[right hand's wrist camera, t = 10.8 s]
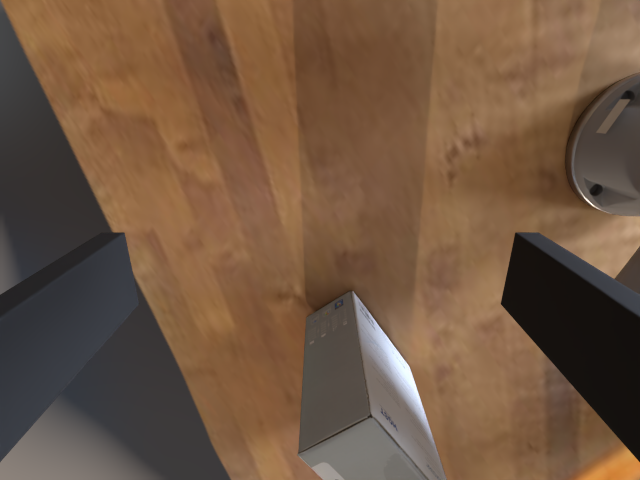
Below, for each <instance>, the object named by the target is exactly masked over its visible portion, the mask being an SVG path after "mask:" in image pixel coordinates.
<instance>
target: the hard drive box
mask: <svg viewBox="0 0 640 480" xmlns="http://www.w3.org/2000/svg"><path fill="white" fill-rule="evenodd" d="M297 455H298V456H299V457H300V458H301V459H302V460H303V461H304V462H305V463H306V464H307V465H308V466H309V467H310V468H311V469H312V470H313V471H314V472H315V473H316V474H317V475H318V476H319V477H320V478H321V479H322V480H447V479H446V475H445V472H444V469H443V466H442V463H441V460H440V457H439V454H438V451H437V448H436V445H435V442H434V439H433V436H432V433H431V430H430V427H429V424H428V421H427V418H426V415H425V412H424V409H423V406H422V403H421V400H420V397H419V394H418V391H417V388H416V385H415V382H414V378H413V376H412V373H411V370H410V367H409V366H408V364H407V363H406V362H405V360H404V359H403V358H402V356H401V355H400V353H399V352H398V351H397V349H396V348H395V347H394V345H393V344H392V343H391V341H390V340H389V339H388V337H387V336H386V335H385V333H384V332H383V331H382V329H381V328H380V327H379V325H378V324H377V322H376V321H375V320H374V318H373V317H372V316H371V314H370V313H369V311H368V310H367V309H366V307H365V306H364V305H363V304H362V302H361V301H360V299H359V298H358V297H357V295H356V294H355V293H354V291H352V292H350V291H349V292H347V293H346V294H344V295H342V296H341V297H339V298H337V299H336V300H334V301H332V302H331V303H329V304H327V305H326V306H324V307H323V308H321V309H319V310H318V311H316V312H314V313H313V314H311V315H309V316H308V317H307V318H306V331H305V347H304V366H303V384H302V401H301V419H300V435H299V452H298V454H297Z"/></svg>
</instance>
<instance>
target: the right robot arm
mask: <svg viewBox="0 0 640 480" xmlns="http://www.w3.org/2000/svg"><path fill="white" fill-rule="evenodd" d="M565 165H566V174H567V178H568V181H569V183H570V186H571V187H572V189H573V191H574V192H575V194H576V195H577V196H578V197H579V198H580V199H581V200H582V201H583V202H585V203H586V204H588V205H589V206H592V207H594V208H596V209H599V210H601V211H604V212H607V213H610V214H615V215H622V216H640V73H637V74H633V75H631V76H628V77H626V78H624V79H622V80H620V81H618V82H616V83H615V84H613V85H611V86H610V87H609V88H607V89H606V90H605V91H603V92H602V93H601V94H600V95H599V96H597V97H596V98H595V99H594V100H593V101H592V102H591V104H590V105H589V106H588V107H587V108H586V109H585V111H584V112H583V113H582V115H581V116H580V118H579V119H578V121H577V123H576V125H575V127H574V129H573V131H572V133H571V136H570V139H569V142H568V146H567V150H566V160H565ZM138 305H139V301H138V296H137V291H136V286H135V281H134V276H133V272H132V267H131V262H130V257H129V252H128V247H127V243H126V238H125V233H100V234H99V235H97V236H95V237H94V238H92V239H90V240H89V241H87V242H86V243H84V244H82V245H81V246H79V247H77V248H76V249H74V250H72V251H71V252H69V253H68V254H66V255H64V256H63V257H61V258H59V259H58V260H56V261H55V262H53V263H51V264H50V265H48V266H46V267H45V268H43V269H42V270H40V271H38V272H37V273H35V274H33V275H32V276H30V277H29V278H27V279H25V280H24V281H22V282H20V283H19V284H17V285H16V286H14V287H12V288H11V289H9V290H7V291H6V292H4V293H3V294H1V295H0V462H1V461H2V459H3V458H4V457H5V456H6V455H7V454H8V453H9V451H10V450H11V449H12V448H13V447H14V446H15V445H16V443H17V442H18V441H19V440H20V439H21V438H22V437H23V435H24V434H25V433H26V432H27V431H28V430H29V429H30V428H31V426H32V425H33V424H34V423H35V422H36V421H37V420H38V418H39V417H40V416H41V415H42V414H43V413H44V412H45V410H46V409H47V408H48V407H49V406H50V405H51V404H52V403H53V401H54V400H55V399H56V398H57V397H58V396H59V395H60V393H61V392H62V391H63V390H64V389H65V388H66V387H67V385H68V384H69V383H70V382H71V381H72V380H73V379H74V378H75V376H76V375H77V374H78V373H79V372H80V371H81V370H82V368H83V367H84V366H85V365H86V364H87V363H88V362H89V360H90V359H91V358H92V357H93V356H94V355H95V354H96V353H97V351H98V350H99V349H100V348H101V347H102V346H103V345H104V343H105V342H106V341H107V340H108V339H109V338H110V337H111V335H112V334H113V333H114V332H115V331H116V330H117V329H118V327H119V326H120V325H121V324H122V323H123V322H124V321H125V320H126V318H127V317H128V316H129V315H130V314H131V313H132V312H133V310H134V309H135V308H136V307H137V306H138ZM501 305H502V306H503V307H504V308H505V309H506V310H507V312H508V313H509V314H510V315H511V316H512V317H513V318H514V320H515V321H516V322H517V323H518V324H519V325H520V326H521V327H522V329H523V330H524V331H525V332H526V333H527V334H528V335H529V337H530V338H531V339H532V340H533V341H534V342H535V343H536V345H537V346H538V347H539V348H540V349H541V350H542V351H543V353H544V354H545V355H546V356H547V357H548V358H549V359H550V360H551V362H552V363H553V364H554V365H555V366H556V367H557V368H558V370H559V371H560V372H561V373H562V374H563V375H564V376H565V378H566V379H567V380H568V381H569V382H570V383H571V384H572V385H573V387H574V388H575V389H576V390H577V391H578V392H579V393H580V395H581V396H582V397H583V398H584V399H585V400H586V401H587V403H588V404H589V405H590V406H591V407H592V408H593V409H594V410H595V412H596V413H597V414H598V415H599V416H600V417H601V418H602V420H603V421H604V422H605V423H606V424H607V425H608V426H609V428H610V429H611V430H612V431H613V432H614V433H615V434H616V435H617V437H618V438H619V439H620V440H621V441H622V442H623V443H624V445H625V446H626V447H627V448H628V449H629V450H630V451H631V453H632V454H633V455H634V456H635V457H636V458H637V459H638V461H639V462H640V247H639V248H638V249H637V251H636V252H635V253H634V255H633V256H632V257H631V259H630V260H629V261H628V263H627V264H626V265H625V266H624V268H623V269H622V270H621V271H620V273H619V274H618V275H617V276H616V278H615V279H613V278H611V277H610V276H608V275H607V274H605V273H603V272H602V271H600V270H598V269H597V268H595V267H594V266H592V265H590V264H589V263H587V262H585V261H584V260H582V259H581V258H579V257H577V256H576V255H574V254H572V253H571V252H569V251H568V250H566V249H564V248H563V247H561V246H559V245H558V244H556V243H554V242H553V241H551V240H550V239H548V238H546V237H545V236H543V235H541V234H540V233H515V238H514V243H513V247H512V252H511V257H510V262H509V267H508V272H507V276H506V281H505V286H504V291H503V296H502V301H501Z"/></svg>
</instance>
